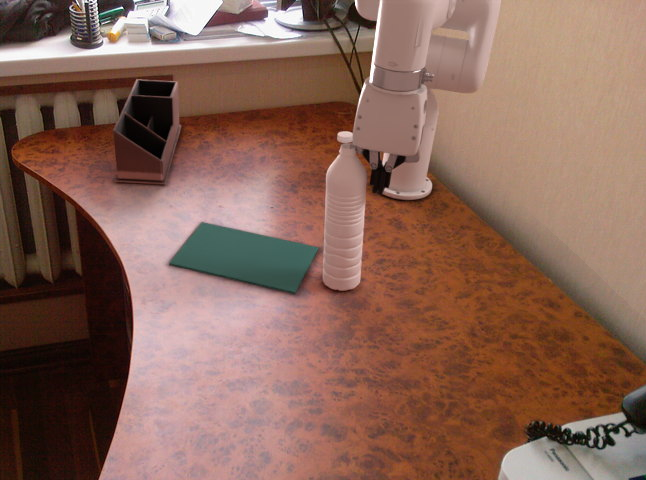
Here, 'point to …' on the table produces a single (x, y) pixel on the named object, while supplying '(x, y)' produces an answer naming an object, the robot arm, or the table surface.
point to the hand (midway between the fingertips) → (378, 189)
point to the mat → (246, 257)
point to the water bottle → (344, 218)
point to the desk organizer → (147, 132)
